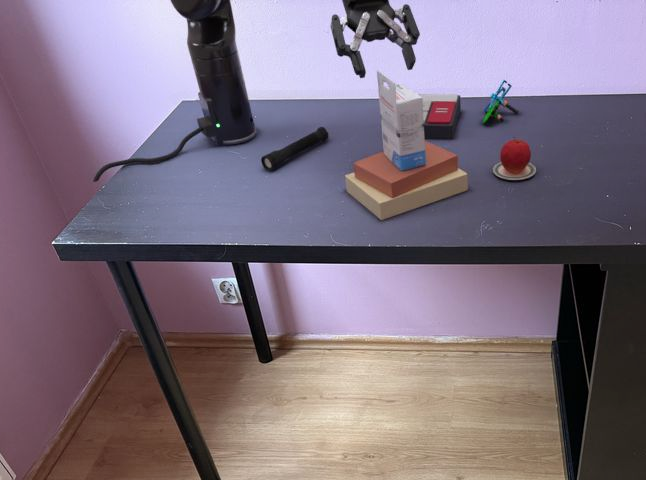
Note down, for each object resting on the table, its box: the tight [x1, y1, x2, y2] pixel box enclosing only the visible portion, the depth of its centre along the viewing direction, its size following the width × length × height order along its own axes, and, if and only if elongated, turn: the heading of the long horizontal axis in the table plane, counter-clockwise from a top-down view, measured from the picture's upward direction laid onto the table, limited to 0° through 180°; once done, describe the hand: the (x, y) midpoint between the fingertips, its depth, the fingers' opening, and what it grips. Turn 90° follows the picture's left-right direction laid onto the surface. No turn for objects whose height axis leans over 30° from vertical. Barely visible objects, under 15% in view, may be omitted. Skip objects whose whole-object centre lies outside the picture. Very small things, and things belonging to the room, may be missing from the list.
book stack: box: [344, 140, 469, 221], centre depth 118 cm, size 18×13×6 cm
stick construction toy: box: [482, 79, 520, 124], centre depth 143 cm, size 12×7×8 cm
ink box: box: [376, 69, 426, 171], centre depth 111 cm, size 8×5×15 cm, turn 25°
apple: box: [492, 136, 537, 181], centre depth 122 cm, size 8×8×6 cm
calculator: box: [417, 93, 461, 140], centre depth 141 cm, size 11×4×15 cm
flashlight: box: [260, 126, 329, 172], centre depth 133 cm, size 3×16×3 cm, turn 145°
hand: (387, 71), depth 110 cm, fingers open, 8 cm apart
